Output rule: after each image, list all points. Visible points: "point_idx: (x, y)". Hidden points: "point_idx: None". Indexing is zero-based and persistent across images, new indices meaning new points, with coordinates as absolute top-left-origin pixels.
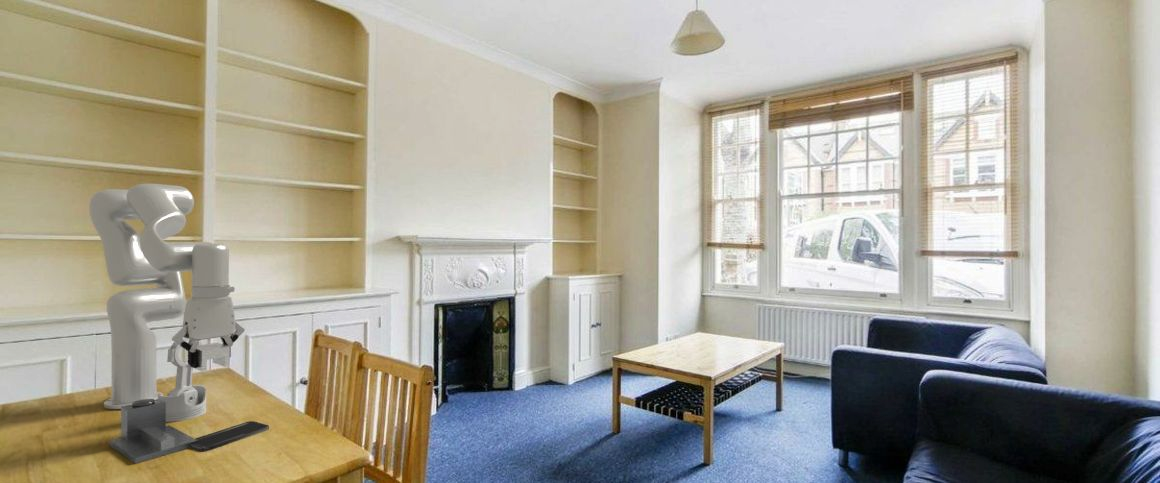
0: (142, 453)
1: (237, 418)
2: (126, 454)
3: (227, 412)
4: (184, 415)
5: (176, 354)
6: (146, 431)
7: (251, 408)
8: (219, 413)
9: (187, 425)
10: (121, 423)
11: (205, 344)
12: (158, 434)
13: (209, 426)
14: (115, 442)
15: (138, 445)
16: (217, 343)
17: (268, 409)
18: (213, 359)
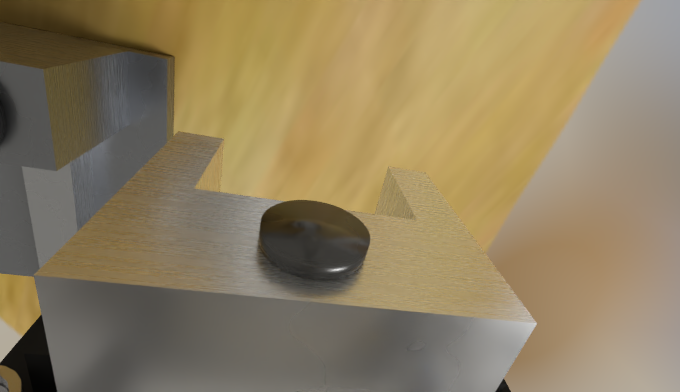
0: (15, 257)
1: (372, 168)
2: None
3: (409, 65)
4: None
5: None
6: (27, 169)
7: (475, 110)
8: (389, 44)
9: (242, 69)
10: None
11: (336, 315)
12: (55, 235)
13: (277, 158)
14: None
15: (18, 181)
16: (477, 378)
17: (480, 178)
18: (389, 201)
